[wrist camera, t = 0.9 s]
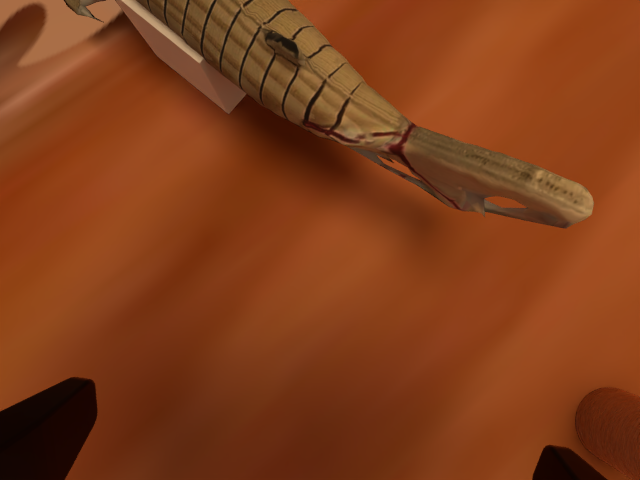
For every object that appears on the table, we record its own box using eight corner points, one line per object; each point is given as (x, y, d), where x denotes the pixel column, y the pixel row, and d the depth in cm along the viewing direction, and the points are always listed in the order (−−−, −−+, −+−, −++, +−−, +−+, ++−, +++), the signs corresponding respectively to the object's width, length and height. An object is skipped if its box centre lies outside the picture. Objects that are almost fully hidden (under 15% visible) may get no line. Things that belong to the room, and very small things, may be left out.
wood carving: (426, 306, 24) (512, 327, 13) (1, -42, 27) (-227, -270, 16) (519, 190, 25) (674, 117, 14) (94, -140, 28) (-62, -425, 16)
